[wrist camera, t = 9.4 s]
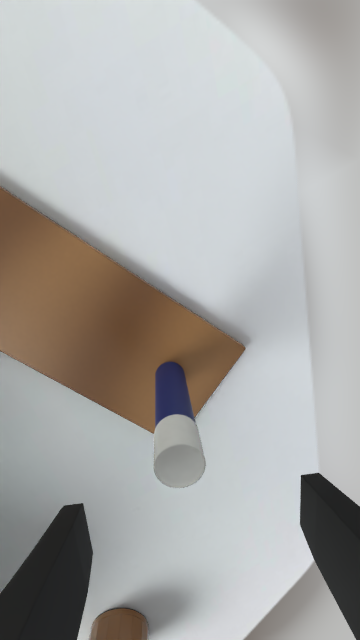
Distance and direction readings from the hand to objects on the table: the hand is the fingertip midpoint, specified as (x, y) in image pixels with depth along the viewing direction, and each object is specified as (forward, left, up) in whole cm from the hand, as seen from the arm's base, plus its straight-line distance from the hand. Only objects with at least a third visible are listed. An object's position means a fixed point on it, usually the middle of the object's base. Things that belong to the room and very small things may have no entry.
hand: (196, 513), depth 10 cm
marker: (0, -1, -9) cm, 9 cm away
